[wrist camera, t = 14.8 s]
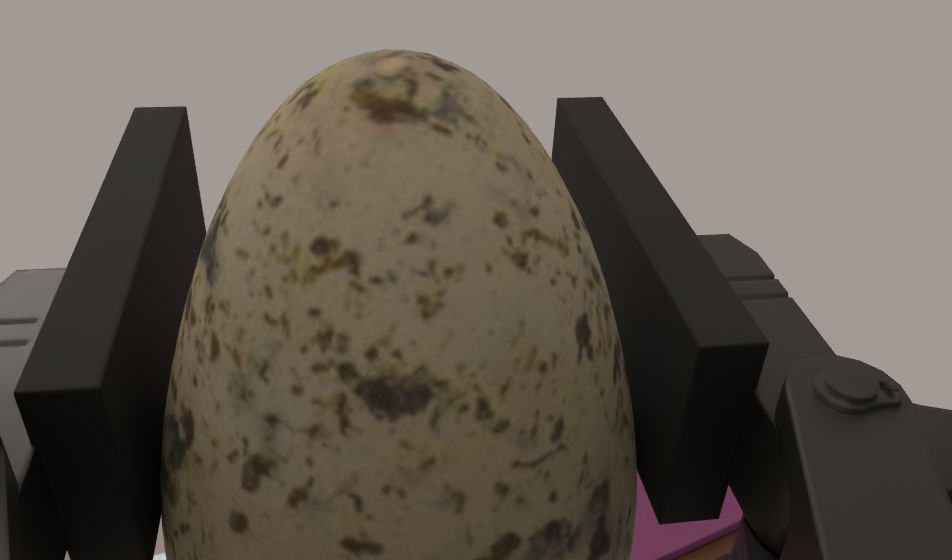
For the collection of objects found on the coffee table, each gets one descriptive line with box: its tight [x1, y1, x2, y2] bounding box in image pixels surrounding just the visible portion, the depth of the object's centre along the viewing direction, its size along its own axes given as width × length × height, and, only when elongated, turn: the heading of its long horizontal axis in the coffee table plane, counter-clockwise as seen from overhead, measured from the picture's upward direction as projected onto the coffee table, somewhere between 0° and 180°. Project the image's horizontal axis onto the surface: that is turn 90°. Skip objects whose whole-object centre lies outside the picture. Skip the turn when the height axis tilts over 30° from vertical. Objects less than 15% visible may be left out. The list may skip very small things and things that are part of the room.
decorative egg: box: [160, 50, 637, 560], centre depth 11 cm, size 6×6×10 cm
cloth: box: [630, 471, 743, 560], centre depth 32 cm, size 17×15×1 cm
